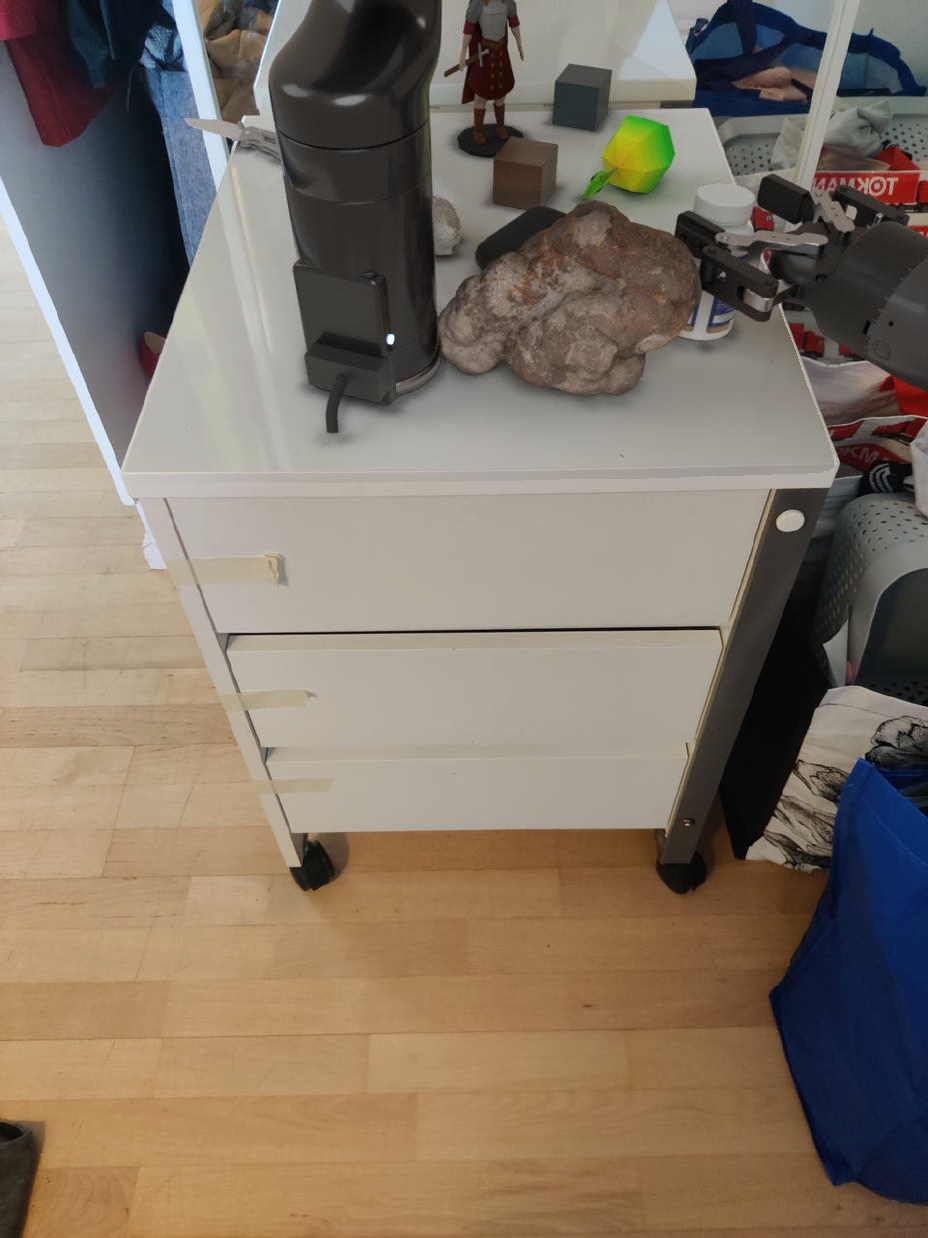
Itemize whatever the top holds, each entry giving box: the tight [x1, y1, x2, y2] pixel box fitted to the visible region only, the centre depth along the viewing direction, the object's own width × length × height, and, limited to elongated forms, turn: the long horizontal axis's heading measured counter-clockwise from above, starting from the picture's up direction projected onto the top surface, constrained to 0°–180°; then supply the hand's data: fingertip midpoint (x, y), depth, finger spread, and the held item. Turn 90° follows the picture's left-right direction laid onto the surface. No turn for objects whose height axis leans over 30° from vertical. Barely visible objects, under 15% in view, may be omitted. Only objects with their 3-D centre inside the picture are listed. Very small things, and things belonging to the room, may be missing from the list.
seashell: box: [433, 195, 462, 257], centre depth 77 cm, size 4×16×4 cm, turn 37°
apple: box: [581, 114, 676, 201], centre depth 80 cm, size 7×6×9 cm
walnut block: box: [492, 136, 559, 211], centre depth 80 cm, size 4×4×4 cm
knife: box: [183, 117, 280, 160], centre depth 87 cm, size 2×18×3 cm
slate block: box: [551, 63, 613, 132], centre depth 90 cm, size 4×4×4 cm
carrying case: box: [474, 205, 568, 271], centre depth 71 cm, size 11×3×15 cm
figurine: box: [443, 0, 525, 158], centre depth 82 cm, size 7×7×15 cm
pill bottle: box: [677, 182, 756, 341], centre depth 65 cm, size 5×5×10 cm
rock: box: [436, 199, 702, 396], centre depth 62 cm, size 18×12×10 cm
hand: (721, 206), depth 63 cm, fingers open, 7 cm apart
